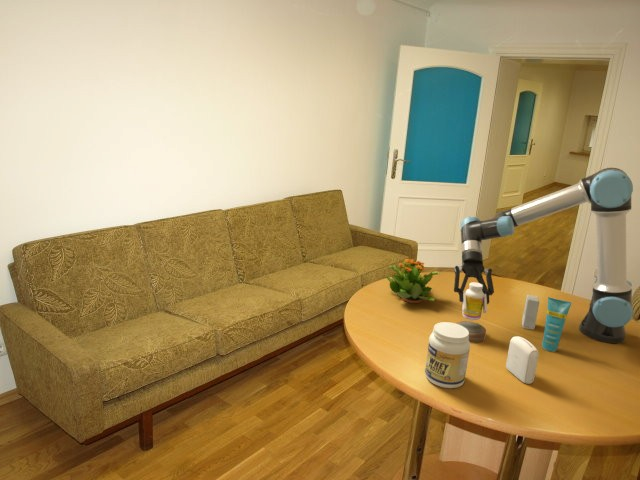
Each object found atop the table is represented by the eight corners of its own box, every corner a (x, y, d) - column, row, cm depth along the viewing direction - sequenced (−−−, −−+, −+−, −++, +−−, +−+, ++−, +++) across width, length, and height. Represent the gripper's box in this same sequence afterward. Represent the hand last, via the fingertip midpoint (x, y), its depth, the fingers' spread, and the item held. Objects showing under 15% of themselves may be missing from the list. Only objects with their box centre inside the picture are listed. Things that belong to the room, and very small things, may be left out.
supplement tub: (416, 377, 144) (422, 327, 140) (437, 363, 153) (443, 316, 148) (451, 395, 136) (459, 343, 131) (471, 379, 144) (479, 330, 140)
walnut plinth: (491, 339, 171) (492, 331, 170) (469, 344, 166) (470, 336, 165) (469, 326, 180) (470, 318, 180) (448, 331, 176) (449, 323, 175)
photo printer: (503, 367, 152) (509, 333, 149) (514, 366, 153) (520, 332, 150) (523, 385, 143) (530, 349, 139) (535, 383, 144) (542, 348, 140)
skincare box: (534, 330, 180) (539, 301, 176) (522, 328, 181) (527, 299, 178) (532, 323, 185) (538, 296, 182) (521, 321, 187) (526, 294, 183)
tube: (537, 348, 166) (547, 298, 161) (538, 342, 170) (548, 294, 165) (560, 354, 162) (571, 304, 157) (561, 348, 166) (572, 299, 161)
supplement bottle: (481, 321, 168) (487, 289, 164) (462, 319, 169) (467, 286, 165) (479, 314, 174) (484, 282, 170) (461, 311, 175) (466, 280, 172)
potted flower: (451, 308, 196) (456, 269, 191) (403, 314, 188) (407, 274, 183) (418, 286, 219) (422, 251, 214) (374, 291, 210) (377, 255, 205)
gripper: (495, 261, 180) (499, 317, 169) (444, 256, 182) (445, 312, 171) (501, 252, 174) (505, 310, 163) (448, 247, 176) (449, 304, 165)
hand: (474, 311), depth 167 cm, fingers closed on supplement bottle, 7 cm apart
